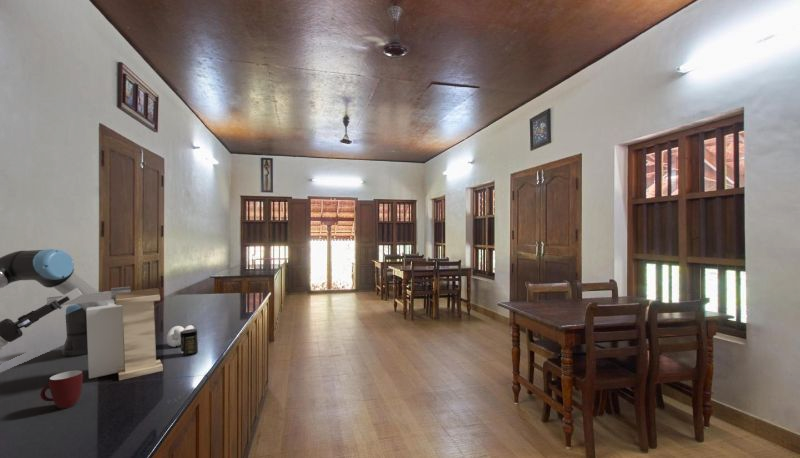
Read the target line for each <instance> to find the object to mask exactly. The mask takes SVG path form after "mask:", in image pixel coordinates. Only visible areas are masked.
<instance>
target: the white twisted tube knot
mask: <svg viewBox="0 0 800 458" xmlns="http://www.w3.org/2000/svg"><path fill="white" fill-rule="evenodd" d="M189 329H195V327H194V325H191V324H190V325H187V326H185V328H184V327H183V326H181V325H176V326H173V327H171V328H170V330H168V332H167V334H166V342H167V345H168V346H170V347H172V348H177V347H179V346H181V337H180V332H181V331H184V330H189ZM176 346H177V347H176Z"/></svg>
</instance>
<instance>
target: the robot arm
mask: <svg viewBox="0 0 800 458" xmlns="http://www.w3.org/2000/svg"><path fill="white" fill-rule="evenodd" d="M21 281H36V282H37V283H38V284H40V285H42V286H43V287H45V288H48V289H51V288H53V289H55V290H56V291H58V292H59V293H60V294H62V295H61V296H62V297H61V298H59V299H57V300H56V301H54V302H53V303H51V304H49V305H47V303H46V304H44V305H43V306H41V307H39V308H37V309H35V310H31V311H30V312H27V313H26V314H23V315H21V316H19V317H18V318H17V320H16V321H15V322H14V321H13V320H12V319H10V318H4V319H3V320H0V351H2V348H3V347H5V346H6V345H8V342H9V343H12V342H14V341H16V340H17V339H19V338H21V337H23V334H24V333H23V331H22V329H23V328H24V329H27V328H28V327H30V326H31V325H32V324H34V323H36V322H38V321H40V319H42V318H43V317H45V316H47V315H49V314H50V313H52V312H54V311H56V310H58V309H59V310H61V309H62V308H63V307H62V306H65V305H64V304H66V303H68V302H70V301H72V300H73V299H75V298H77V297H79V296H81V295H82V294H86V293H96V292H99V291H98V290H96V289H95V288H94V287H92V286H91V285H90V284H89V283H88V282H87V281H85V279H83V278H82V277H80V276H79V275H78V274H77V273H76V272H75V263H74V259H73V257H72V256H71V254H69V253H68V252H66V251H64V250H61V249H54V248H53V249H51V248H49V249H47V248H46V249H36V250H31V249H30V250H18V251H13V252H10V253H8V254H5V255H3V256H0V289H3V288H5V287H6V286H8V285H10V284H12V283H14V282H15V283H16V282H21ZM113 304H116V302H115V299H113V300H104V301H95V302H87V303H78V304H70V305H67V307H66V309H65V328H66V338H65V341H64V344H63V347H62V350H61V353H62V356H64V357H73V356H80V355H81V356H82V355H86V354H87V355H88V343H87V318H86V309H87V308H89V307H97V306H105V305H113ZM60 305H61V306H60ZM122 323H123V316H122Z"/></svg>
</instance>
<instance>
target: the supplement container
mask: <svg viewBox="0 0 800 458" xmlns="http://www.w3.org/2000/svg"><path fill="white" fill-rule="evenodd" d="M180 337H181V345H180V354H181V356H182V357H191V356H196V355H197V354H198V352H199V346H198V343H199V342H198V341H199V340H198V329H197V328H194V329H189V330H184V331H181V332H180Z"/></svg>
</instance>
